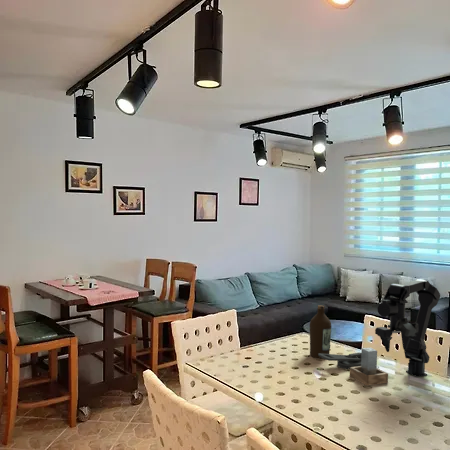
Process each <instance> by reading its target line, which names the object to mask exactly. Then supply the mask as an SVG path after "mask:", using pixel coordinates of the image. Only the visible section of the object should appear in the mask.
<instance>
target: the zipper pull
mask: <svg viewBox="0 0 450 450" xmlns="http://www.w3.org/2000/svg"><path fill="white" fill-rule="evenodd" d="M361 353H362V352H354V353H349V354H335V353H333V354H332V353H329V354H321V353H319V354H318V356H320V357H321V358H323V359H322V360H326V361H328V362H329V361H330V362H335V361H337V362H336V364H337V367H338V368H340V369H343V370H350V367H357V366H361Z"/></svg>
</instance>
